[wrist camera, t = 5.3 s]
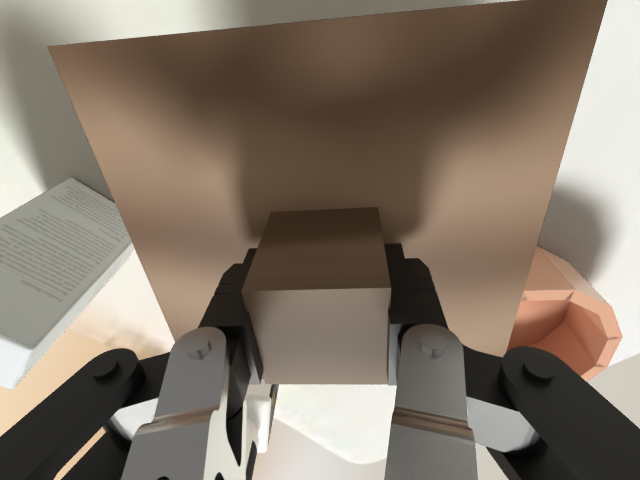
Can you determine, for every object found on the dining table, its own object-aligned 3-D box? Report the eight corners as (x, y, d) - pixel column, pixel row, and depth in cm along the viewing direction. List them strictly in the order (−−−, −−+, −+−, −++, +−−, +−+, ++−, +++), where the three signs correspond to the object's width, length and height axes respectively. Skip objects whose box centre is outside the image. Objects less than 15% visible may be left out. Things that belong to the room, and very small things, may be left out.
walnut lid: (71, 43, 10) (-117, 64, 6) (585, -6, 9) (795, -24, 5) (198, 362, 18) (153, 470, 14) (490, 361, 16) (539, 480, 12)
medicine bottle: (279, 379, 35) (254, 527, 25) (207, 371, 35) (150, 516, 24) (284, 327, 31) (256, 475, 21) (203, 317, 31) (135, 461, 21)
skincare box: (54, 217, 27) (-127, 338, 16) (71, 174, 25) (-120, 281, 14) (131, 260, 28) (11, 394, 18) (152, 223, 26) (33, 349, 16)
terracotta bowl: (436, 248, 26) (455, 292, 22) (595, 243, 25) (647, 287, 21) (425, 352, 32) (438, 403, 28) (554, 351, 31) (588, 403, 27)
